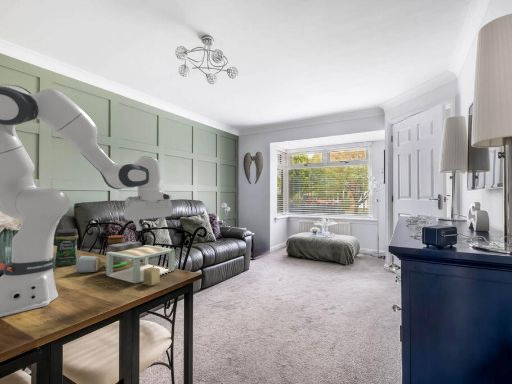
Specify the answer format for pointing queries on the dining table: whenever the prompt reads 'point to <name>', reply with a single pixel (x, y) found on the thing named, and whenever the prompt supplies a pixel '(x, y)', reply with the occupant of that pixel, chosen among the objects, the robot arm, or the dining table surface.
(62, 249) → the coffee jar
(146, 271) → the block
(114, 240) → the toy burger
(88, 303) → the dining table surface
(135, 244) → the trapdoor plate
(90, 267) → the ceramic mug
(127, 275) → the frame
